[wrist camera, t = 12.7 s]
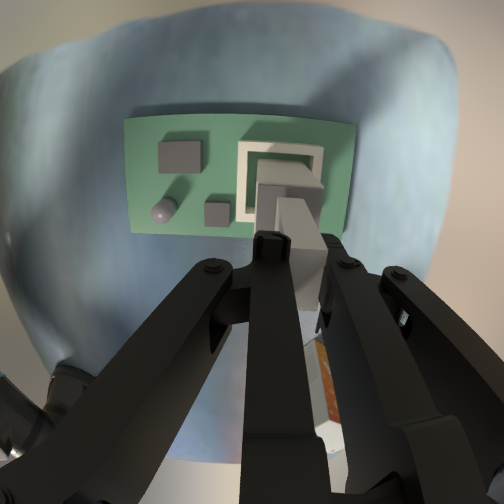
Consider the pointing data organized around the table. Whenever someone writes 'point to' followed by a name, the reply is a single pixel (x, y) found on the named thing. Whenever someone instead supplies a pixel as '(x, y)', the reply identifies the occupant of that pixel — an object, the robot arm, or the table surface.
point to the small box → (323, 397)
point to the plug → (284, 190)
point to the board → (226, 169)
